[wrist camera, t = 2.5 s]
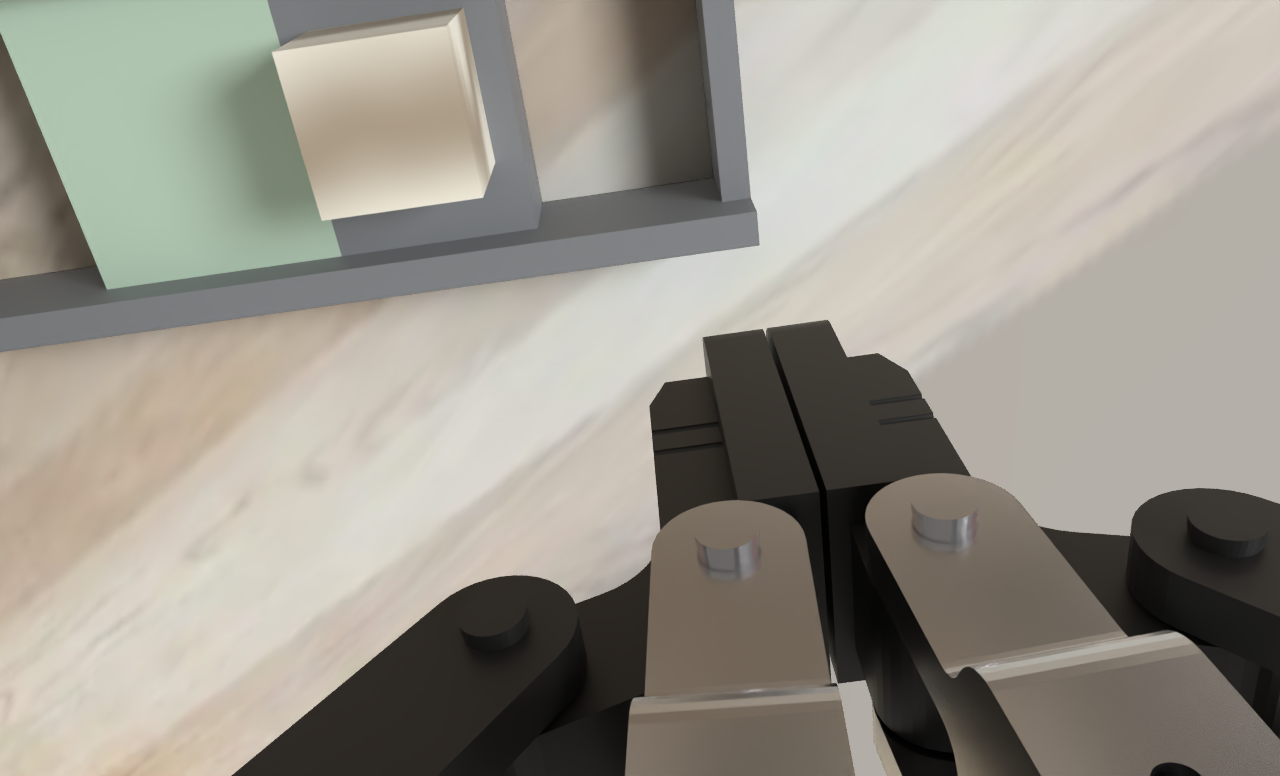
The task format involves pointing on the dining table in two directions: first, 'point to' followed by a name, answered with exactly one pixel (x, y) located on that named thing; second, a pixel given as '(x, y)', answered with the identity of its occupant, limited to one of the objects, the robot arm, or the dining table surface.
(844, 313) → the dining table surface
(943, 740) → the robot arm
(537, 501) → the dining table surface
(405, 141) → the block
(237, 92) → the trap lane
